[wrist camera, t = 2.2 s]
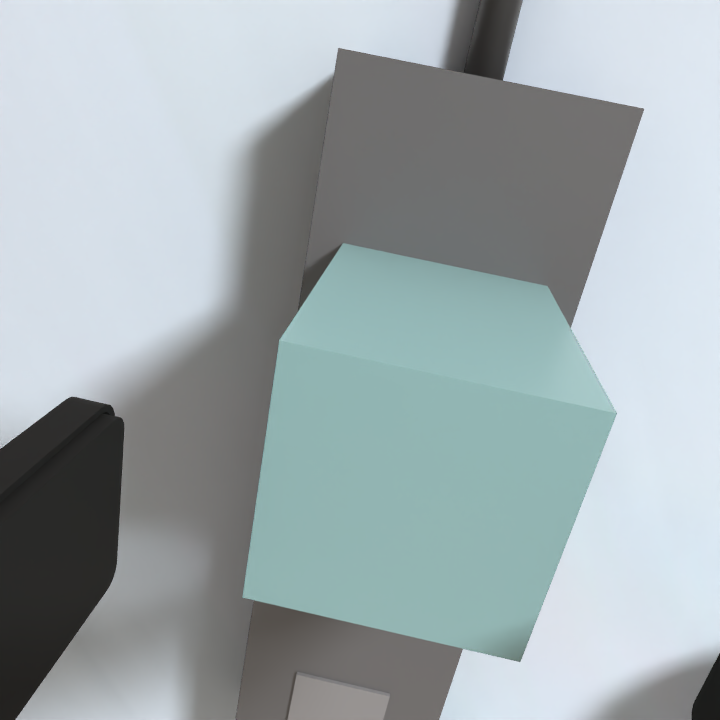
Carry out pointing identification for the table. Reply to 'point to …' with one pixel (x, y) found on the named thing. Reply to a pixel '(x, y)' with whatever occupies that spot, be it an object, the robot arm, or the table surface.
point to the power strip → (445, 246)
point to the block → (424, 452)
